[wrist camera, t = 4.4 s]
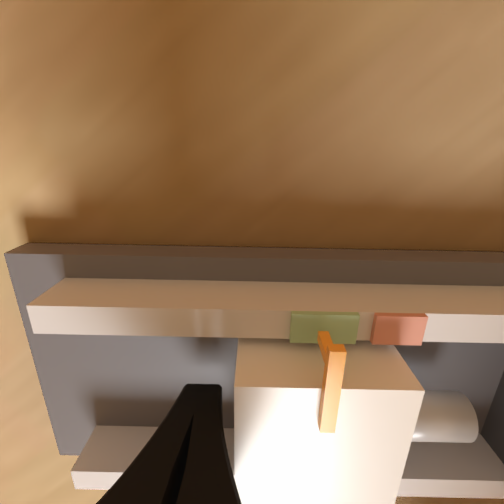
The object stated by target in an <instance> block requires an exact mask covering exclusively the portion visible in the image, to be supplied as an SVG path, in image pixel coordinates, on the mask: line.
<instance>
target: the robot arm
mask: <svg viewBox="0 0 504 504" xmlns="http://www.w3.org/2000/svg"><path fill="white" fill-rule="evenodd" d="M96 504H242V503H241V500H240V497H239V493H238V490H237V487H236V483H235V479H234V476H233V472H232V468H231V464H230V459H229V455H228V451H227V446H226V441H225V435H224V429H223V408H222V387H221V386H220V385H219V384H186V385H185V386H184V387H183V389H182V391H181V393H180V394H179V396H178V398H177V399H176V401H175V403H174V404H173V406H172V407H171V409H170V411H169V412H168V414H167V415H166V417H165V418H164V420H163V421H162V422H161V424H160V425H159V427H158V428H157V430H156V431H155V433H154V434H153V435H152V437H151V438H150V440H149V441H148V442H147V443H146V445H145V446H144V447H143V449H142V450H141V451H140V453H139V454H138V455H137V456H136V458H135V459H134V460H133V462H132V463H131V464H130V465H129V467H128V468H127V469H126V470H125V471H124V473H123V474H122V475H121V476H120V477H119V479H118V480H117V481H116V482H115V483H114V484H113V486H112V487H111V488H110V489H109V490H108V491H107V492H106V493H105V495H104V496H103V497H102V498H101V499H100V500H99V501H98V502H97V503H96Z"/></svg>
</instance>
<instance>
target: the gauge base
mask: <svg viewBox="0 0 504 504" xmlns="http://www.w3.org/2000/svg"><path fill="white" fill-rule="evenodd" d="M4 256H5V259H6V263H7V267H8V270H9V274H10V277H11V281H12V285H13V288H14V292H15V295H16V299H17V302H18V306H19V310H20V313H21V317H22V320H23V324H24V328H25V331H26V335H27V338H28V342H29V346H30V349H31V353H32V356H33V360H34V363H35V367H36V371H37V374H38V378H39V381H40V385H41V389H42V392H43V396H44V399H45V403H46V407H47V410H48V414H49V417H50V421H51V425H52V428H53V432H54V435H55V439H56V442H57V446H58V450H59V453H60V455H79V457H78V459H77V461H76V463H75V464H74V466H73V468H72V470H71V475H72V479H73V482H74V486H75V489H98V490H109V489H110V488H111V487H112V486H113V484H114V483H115V482H116V481H117V480H118V479H119V477H120V476H121V475H122V474H123V473H124V471H125V470H126V469H127V468H128V467H129V465H130V464H131V463H132V462H133V460H134V459H135V458H136V456H137V455H138V454H139V453H140V451H141V450H142V449H143V447H144V446H145V445H146V443H147V442H148V441H149V440H150V438H151V437H152V435H153V434H154V433H155V431H156V430H157V428H158V427H159V425H160V424H161V422H162V421H163V420H164V418H165V417H166V415H167V414H168V412H169V411H170V409H171V407H172V406H173V404H174V403H175V401H176V399H177V398H178V396H179V394H180V393H181V391H182V389H183V387H184V386H185V385H186V384H219V385H220V386H221V387H222V408H223V429H224V435H225V441H226V446H227V451H228V455H229V459H230V464H231V468H232V472H233V476H234V479H235V473H234V382H235V371H236V359H237V348H238V338H270V339H289V340H290V343H318V341H317V337H318V331H329V334H330V336H331V339H332V342H333V344H356V340H368V341H370V342H371V344H372V345H394V346H395V347H396V349H397V350H398V352H399V353H400V355H401V356H402V358H403V359H404V361H405V362H406V364H407V365H408V367H409V368H410V369H411V371H412V372H413V374H414V375H415V377H416V378H417V380H418V381H419V383H420V384H421V386H422V387H423V389H424V390H453V391H460V392H461V393H463V394H464V395H465V396H466V397H467V398H468V399H469V401H470V402H471V404H472V406H473V408H474V410H475V412H476V415H477V419H478V426H479V431H478V436H477V439H476V440H475V441H474V442H472V443H452V442H411V445H410V449H409V452H408V456H407V460H406V464H405V467H404V471H403V475H402V479H401V482H400V486H399V490H398V494H397V496H403V497H447V498H490V499H504V252H482V251H429V250H377V249H324V248H272V247H219V246H167V245H114V244H61V243H26V244H24V245H22V246H20V247H17V248H15V249H13V250H10V251H8V252H6V253H4Z"/></svg>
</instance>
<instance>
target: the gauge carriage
mask: <svg viewBox="0 0 504 504" xmlns="http://www.w3.org/2000/svg"><path fill="white" fill-rule="evenodd" d="M317 341H318V343H290V340H289V339H270V338H238V348H237V359H236V371H235V382H234V473H235V483H236V487H237V490H238V493H239V497H240V500H241V503H242V504H395V501H396V497H397V494H398V490H399V486H400V482H401V479H402V475H403V471H404V467H405V464H406V460H407V456H408V452H409V449H410V445H411V442H452V443H472V442H474V441H475V440H476V439H477V436H478V431H479V426H478V419H477V415H476V412H475V410H474V408H473V406H472V404H471V402H470V401H469V399H468V398H467V397H466V396H465V395H464V394H463V393H461V392H460V391H453V390H424V389H423V387H422V386H421V384H420V383H419V381H418V380H417V378H416V377H415V375H414V374H413V372H412V371H411V369H410V368H409V367H408V365H407V364H406V362H405V361H404V359H403V358H402V356H401V355H400V353H399V352H398V350H397V349H396V347H395V346H394V345H372V344H371V342H370V341H368V340H356V344H333V342H332V339H331V336H330V334H329V331H318V337H317Z"/></svg>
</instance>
